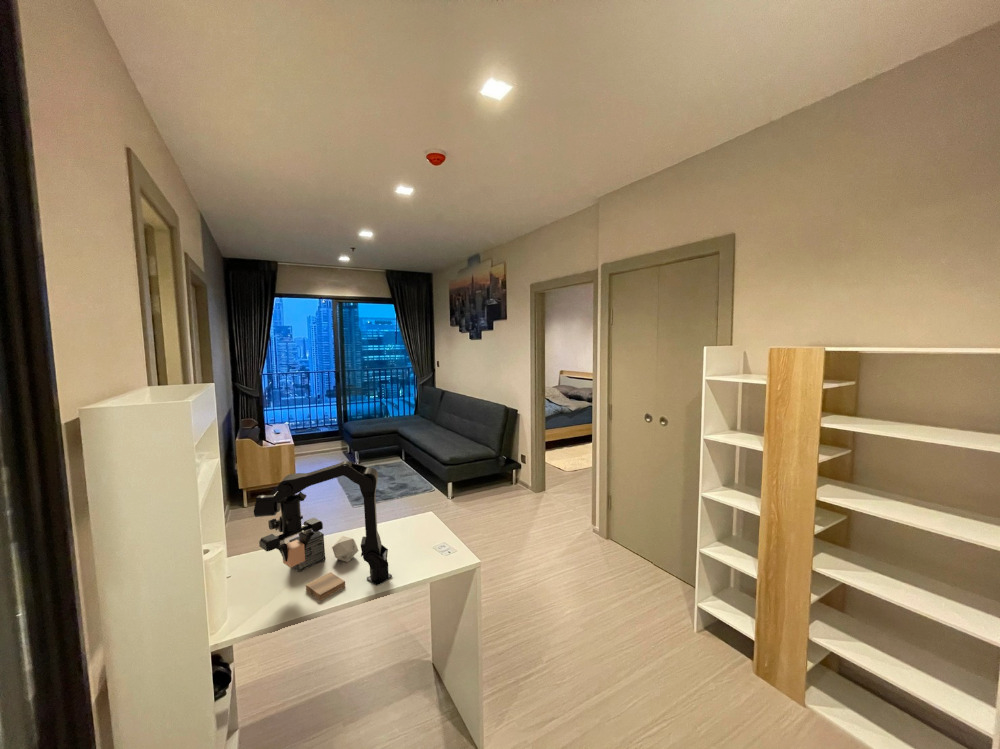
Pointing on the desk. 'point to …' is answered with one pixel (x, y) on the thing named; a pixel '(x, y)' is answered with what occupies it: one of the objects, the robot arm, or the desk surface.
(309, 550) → the small box
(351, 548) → the die
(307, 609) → the desk surface
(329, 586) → the walnut slab
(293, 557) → the terracotta cube
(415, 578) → the desk surface
